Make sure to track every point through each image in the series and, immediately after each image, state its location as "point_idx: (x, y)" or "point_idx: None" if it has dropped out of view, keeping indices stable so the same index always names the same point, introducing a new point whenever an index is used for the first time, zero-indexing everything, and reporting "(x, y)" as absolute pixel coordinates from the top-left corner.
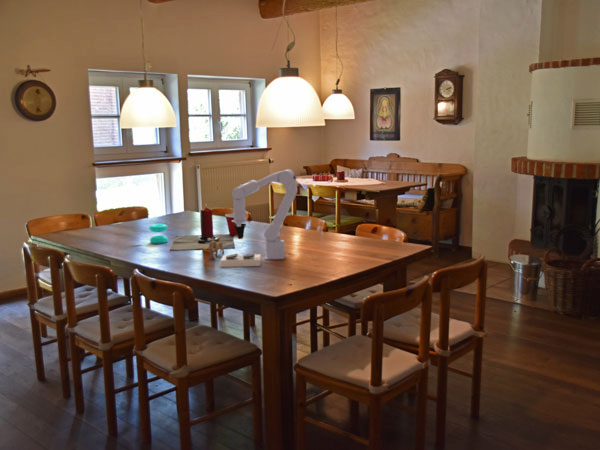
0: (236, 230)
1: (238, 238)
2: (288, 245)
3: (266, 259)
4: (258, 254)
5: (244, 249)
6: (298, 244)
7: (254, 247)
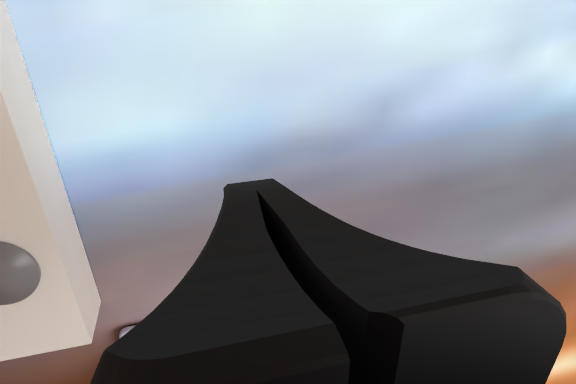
0: (184, 280)
1: (224, 188)
2: None
3: (121, 336)
4: (76, 330)
5: (534, 89)
6: None
7: (569, 160)
